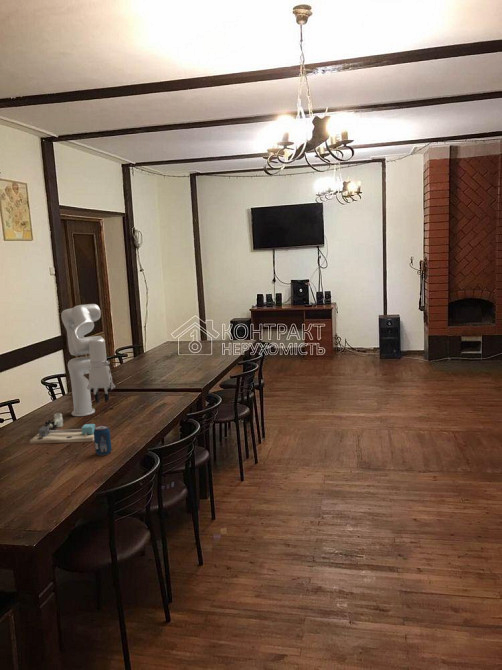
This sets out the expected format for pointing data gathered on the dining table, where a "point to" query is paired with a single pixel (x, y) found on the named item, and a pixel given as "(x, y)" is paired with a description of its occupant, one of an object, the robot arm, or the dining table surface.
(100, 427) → the soda can
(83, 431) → the sliding block
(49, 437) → the board
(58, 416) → the valve
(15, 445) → the dining table surface
